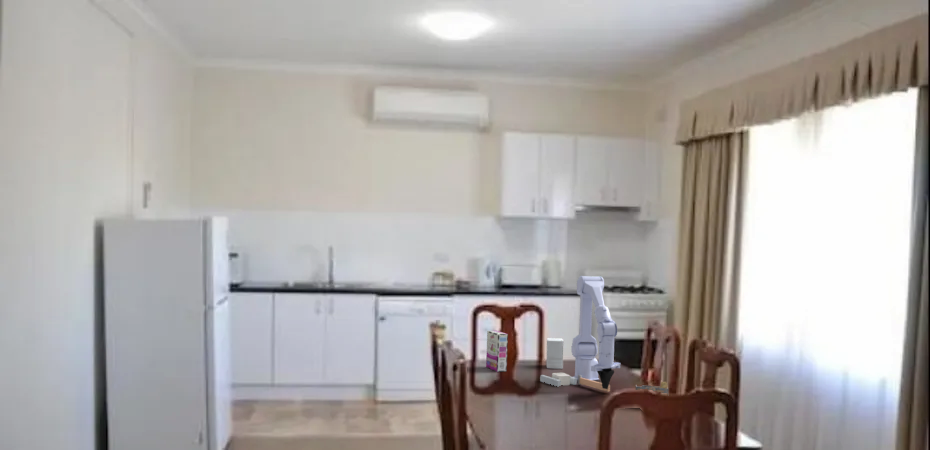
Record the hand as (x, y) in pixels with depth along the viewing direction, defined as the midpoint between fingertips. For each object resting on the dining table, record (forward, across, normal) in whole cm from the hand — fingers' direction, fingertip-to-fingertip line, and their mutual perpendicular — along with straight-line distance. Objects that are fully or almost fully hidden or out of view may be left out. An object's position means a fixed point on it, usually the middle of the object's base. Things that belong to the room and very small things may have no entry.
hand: (605, 388), depth 288 cm
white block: (+2, -3, +21) cm, 21 cm away
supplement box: (+2, +18, +46) cm, 50 cm away
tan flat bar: (+2, +1, +7) cm, 8 cm away
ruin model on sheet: (+3, 0, -22) cm, 23 cm away
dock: (+2, -3, +22) cm, 23 cm away
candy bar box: (+2, -8, +56) cm, 56 cm away
